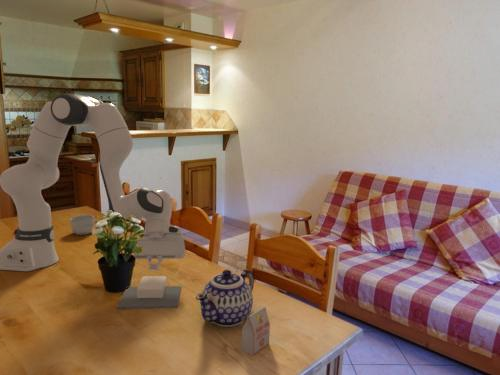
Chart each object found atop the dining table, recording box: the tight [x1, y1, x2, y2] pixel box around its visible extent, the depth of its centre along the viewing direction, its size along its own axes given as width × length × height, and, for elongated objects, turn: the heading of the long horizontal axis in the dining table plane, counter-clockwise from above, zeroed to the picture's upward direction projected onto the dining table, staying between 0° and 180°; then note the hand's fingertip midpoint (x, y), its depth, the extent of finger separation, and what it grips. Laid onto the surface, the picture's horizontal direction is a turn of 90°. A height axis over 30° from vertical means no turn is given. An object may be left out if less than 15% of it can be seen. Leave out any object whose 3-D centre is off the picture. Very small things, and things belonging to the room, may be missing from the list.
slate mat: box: [116, 285, 182, 310], centre depth 127 cm, size 18×14×1 cm
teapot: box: [195, 268, 255, 328], centre depth 114 cm, size 25×15×15 cm, turn 141°
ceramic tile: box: [137, 275, 168, 298], centre depth 129 cm, size 8×3×10 cm
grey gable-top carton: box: [241, 306, 271, 357], centre depth 101 cm, size 4×7×10 cm, turn 140°
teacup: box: [69, 213, 96, 236], centre depth 191 cm, size 14×11×8 cm
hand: (153, 269), depth 131 cm, fingers closed
